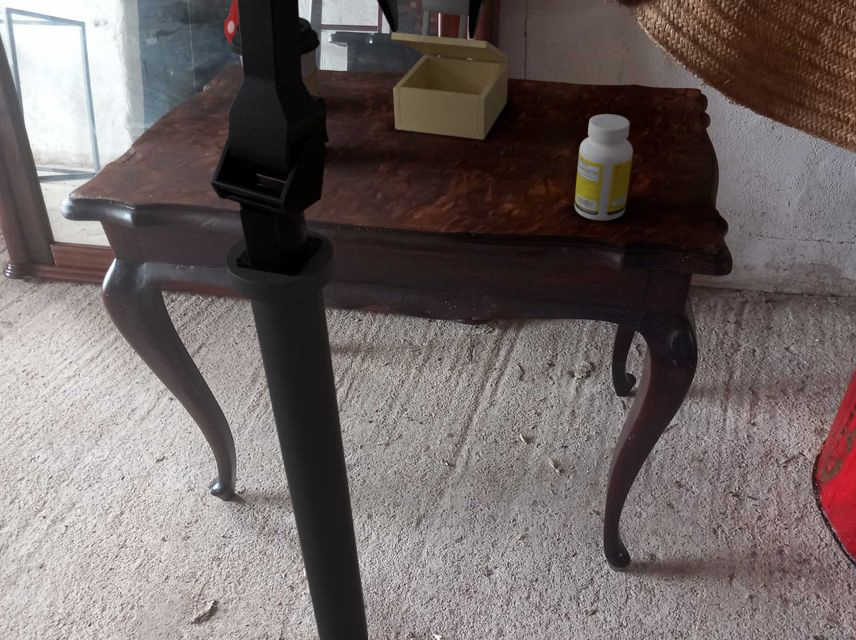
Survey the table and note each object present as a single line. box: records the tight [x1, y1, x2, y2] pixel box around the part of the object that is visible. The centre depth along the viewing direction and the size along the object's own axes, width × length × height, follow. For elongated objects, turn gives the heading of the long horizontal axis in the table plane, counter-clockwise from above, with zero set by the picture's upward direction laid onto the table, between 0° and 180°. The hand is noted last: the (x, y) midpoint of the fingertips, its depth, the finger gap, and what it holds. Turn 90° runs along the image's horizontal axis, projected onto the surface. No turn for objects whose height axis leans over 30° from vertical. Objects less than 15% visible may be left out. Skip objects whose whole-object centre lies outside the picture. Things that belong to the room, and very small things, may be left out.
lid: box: [391, 0, 509, 63], centre depth 98 cm, size 13×12×5 cm
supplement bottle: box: [574, 113, 634, 222], centre depth 81 cm, size 5×5×10 cm
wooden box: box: [392, 54, 509, 141], centre depth 102 cm, size 13×12×5 cm
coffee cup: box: [230, 16, 321, 96], centre depth 89 cm, size 9×9×15 cm
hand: (433, 34), depth 91 cm, fingers open, 9 cm apart
